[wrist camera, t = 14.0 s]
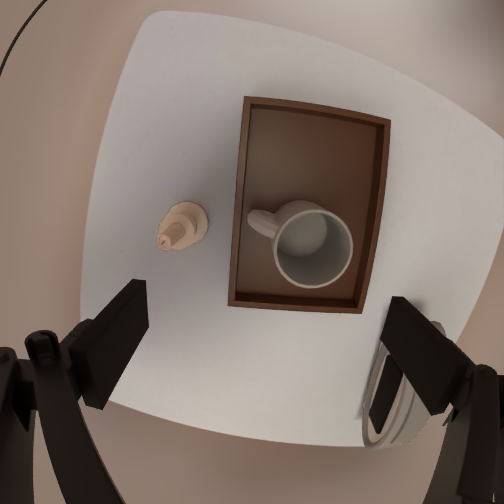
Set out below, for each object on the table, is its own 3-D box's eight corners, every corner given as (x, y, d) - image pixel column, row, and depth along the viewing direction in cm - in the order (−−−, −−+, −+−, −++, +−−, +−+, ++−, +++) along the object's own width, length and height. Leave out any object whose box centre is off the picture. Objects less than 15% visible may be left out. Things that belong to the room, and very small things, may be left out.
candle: (164, 239, 35) (132, 266, 25) (169, 198, 34) (137, 209, 24) (205, 247, 36) (187, 277, 26) (211, 205, 34) (194, 219, 24)
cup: (313, 268, 35) (331, 298, 27) (236, 237, 34) (231, 260, 26) (338, 214, 34) (365, 228, 25) (260, 180, 33) (262, 183, 24)
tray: (245, 102, 31) (244, 95, 28) (379, 123, 31) (391, 119, 28) (229, 294, 37) (227, 306, 34) (354, 302, 38) (362, 314, 34)
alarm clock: (383, 305, 38) (425, 356, 25) (418, 303, 38) (465, 347, 25) (354, 418, 44) (372, 472, 32) (384, 413, 44) (407, 463, 32)
